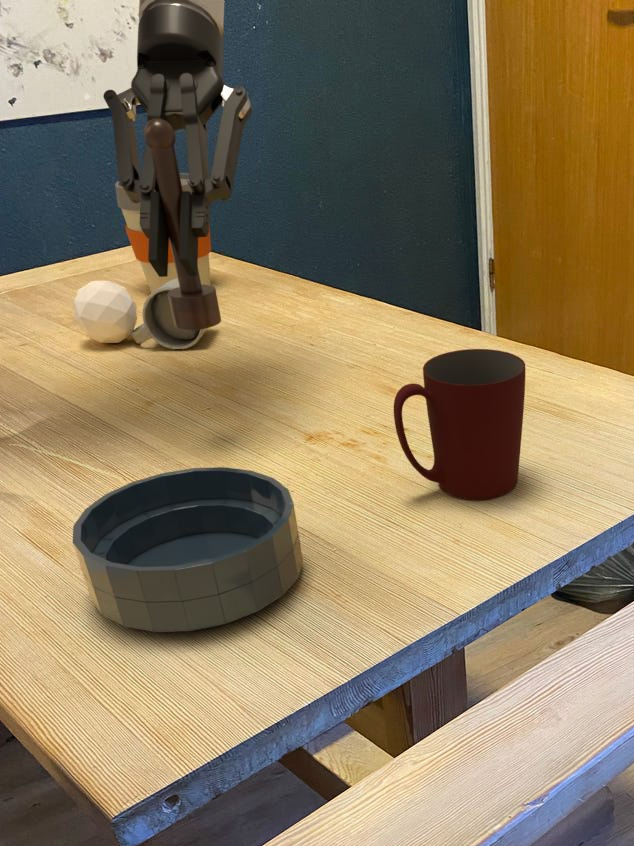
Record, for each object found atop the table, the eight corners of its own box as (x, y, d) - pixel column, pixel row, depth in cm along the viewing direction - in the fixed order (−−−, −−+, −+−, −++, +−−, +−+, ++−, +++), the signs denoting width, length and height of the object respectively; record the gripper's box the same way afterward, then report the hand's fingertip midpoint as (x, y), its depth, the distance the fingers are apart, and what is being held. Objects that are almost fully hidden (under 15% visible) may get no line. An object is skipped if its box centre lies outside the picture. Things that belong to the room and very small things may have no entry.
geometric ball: (134, 361, 124) (124, 320, 116) (72, 348, 123) (58, 306, 115) (149, 317, 127) (140, 274, 119) (88, 304, 126) (75, 260, 118)
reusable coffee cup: (228, 275, 148) (209, 171, 139) (215, 298, 138) (194, 187, 129) (148, 279, 148) (124, 174, 139) (129, 302, 138) (102, 191, 129)
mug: (421, 521, 81) (412, 400, 75) (385, 481, 88) (373, 366, 81) (542, 490, 85) (544, 373, 79) (498, 454, 92) (496, 342, 85)
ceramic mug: (221, 328, 126) (209, 269, 122) (209, 348, 120) (195, 287, 115) (143, 333, 126) (127, 274, 122) (126, 353, 120) (110, 292, 115)
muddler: (165, 328, 89) (118, 121, 78) (190, 314, 92) (148, 114, 82) (206, 331, 87) (164, 122, 77) (229, 317, 91) (192, 115, 81)
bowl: (49, 621, 70) (24, 553, 67) (169, 520, 83) (153, 458, 79) (239, 656, 66) (223, 585, 63) (336, 544, 79) (327, 479, 75)
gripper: (272, 61, 90) (267, 288, 87) (117, 66, 90) (106, 292, 87) (251, -4, 83) (246, 241, 79) (83, 2, 83) (69, 246, 79)
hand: (173, 267), depth 83 cm, fingers closed on muddler, 2 cm apart
